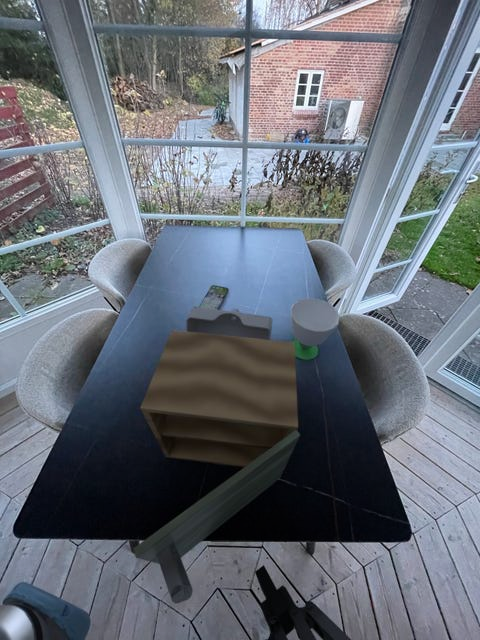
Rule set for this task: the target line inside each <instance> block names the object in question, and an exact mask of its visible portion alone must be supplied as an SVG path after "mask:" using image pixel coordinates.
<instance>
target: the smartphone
mask: <svg viewBox="0 0 480 640" xmlns="http://www.w3.org/2000/svg"><path fill="white" fill-rule="evenodd" d="M228 294H229V288H228V287H226V286H219V285H214V284H213V285H211V286H210V287H209V289H208V290H207V292H206V294H205V296H204V297H203V298H202V300H201V302H200V305H199V306H198V307H202V308H209V309H216V310H221V307H222V305H223V303H224V301H225V299H226V297H227V295H228Z"/></svg>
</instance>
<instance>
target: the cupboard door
mask: <svg viewBox="0 0 480 640" xmlns="http://www.w3.org/2000/svg"><path fill="white" fill-rule="evenodd" d="M300 437H301V434H300V433H299V431H298V429H297V430H295V431H294V432H292V433H291V434H290V435H288V436H287V437H285V438H284V439H283V440H281V441H280V442H279V443H277V444H276V445H274V446H273V447H272V448H270V449H269V450H268V451H266V452H265V453H264V454H262V455H261V456H259V457H258V458H257V459H255V460H254V461H253V462H251V463H250V464H248V465H247V466H246V467H242V469H240V470H239V471H237V472H236V473H234V474H233V475H232V476H231V477H229V478H228V479H226V481H224V482H222V483H221V484H219V485H218V486H217V487H215V488H214V489H213V490H212V491H210V492H208V493H207V494H206V495H205V496H204V497H201V498H200V499H199V500H197V502H195V503H193V504H192V505H191V506H190V507H188V508H187V509H185V510H184V511H183V512H181V513H180V514H178V515H177V516H176V517H175V518H173V519H171V520H170V521H169V522H168V523H167V524H165V525H163V526H162V527H161V528H159V529H158V530H157V531H155V532H154V533H153V534H151V535H150V536H148V537H147V538H146V539H144V540H143V541H141V542H140V543H139V544H137V545H136V546H135V547H133V553H134V556H135V558H136V559H139V560H143V561H147V562H150V563H154V564H158V565H159V567H160V570H161V573H162V576H163V579H164V582H165V585H166V589H167V591H168V594H169V596H170V600H171V602H172V603H173V604H175V605H176V604H180V603H183V602H186V601H188V600H189V599H191V597H192V595H193V587H192V584H191V582H190V581H191V580H190V579H189V576H188V573H187V570H186V567H185V565H184V563H183V560H182V558H183V557H184V556H185V555H187V554H188V553H189V552H190V551H192V550H193V549H194V548H195V547H196V546H198V545H199V544H200V543H202V542H203V541H204V540H205V539H206V538H208V537H209V536H210V535H211V534H213V533H214V532H215V531H216V530H218V529H219V528H221V526H222V525H224V524H225V523H226V522H227V521H229V520H230V519H231V518H233V517H234V516H235V515H236V514H237V513H238V512H240V511H241V510H242V509H243V508H245V507H246V506H247V505H249V504H250V503H251V502H252V501H253V500H255V499H256V498H257V497H259V496H260V495H261V494H262V493H264V491H266V490H267V489H269V488H270V487H271V486H272V485H274V484H275V483H276V482H278V480H280V479H281V478H282V476H283V473H284V471H285V468H286V467H287V464H288V463H289V460H290V458H291V456H292V455H293V451H294V450H295V448H296V445H297V443H298V442H299V439H300Z"/></svg>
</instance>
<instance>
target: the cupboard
mask: <svg viewBox="0 0 480 640" xmlns="http://www.w3.org/2000/svg"><path fill="white" fill-rule="evenodd" d="M297 387H298V386H297V369H296V356H295V343H294V342H292V341H282V340H272V339H270V340H264V339H254V338H244V337H234V336H224V335H214V334H204V333H194V332H186V331H184V330H175V329H174V330H173V329H171V331H170V334H169V336H168V338H167V341H166V343H165V345H164V348H163V351H162V353H161V356H160V357H159V361H158V363H157V365H156V368H155V371H154V373H153V375H152V378H151V380H150V383H149V385H148V388H147V390H146V393H145V396H144V398H143V400H142V402H141V405H140V410H141V412H142V414H143V416H144V418H145V420H146V422H147V424H148V426H149V428H150V430H151V432H152V434H153V436H154V438H155V439H156V441H157V443H158V445H159V447H160V449H161V451H162V453H163V455H164V456H165V458H169V459H177V460H183V461H191V462H199V463H206V464H214V465H221V466H222V465H223V466H231V467H237V468H244V467H246V466H247V465H248V464H250V463H251V462H253V461H254V460H255V459H257V458H258V457H259V456H261V455H262V454H264V453H265V452H266V451H268V450H269V449H270V448H272V447H273V446H274V445H276V444H277V443H279V442H280V441H281V440H283V439H284V438H285V437H287V436H288V435H290V434H291V433H292V432H294V431H295V430H297V431H298V428H299V414H298V390H297Z"/></svg>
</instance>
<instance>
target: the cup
mask: <svg viewBox="0 0 480 640" xmlns="http://www.w3.org/2000/svg"><path fill="white" fill-rule="evenodd" d="M340 319H341V317H340V314H339V311H338V310H337V309H336V308H335V306H333V305H332V304H331V303H330V302H327V301H325V300H323V299H318V298H315V297H313V298H312V297H305V298H302V299H298V300H297V301H296V302H294V303H293V304H292V306H291V308H290V321H291V322H290V324H291V328H290V329H291V333H292V336H293V337H294V338H295V339H294V340H292V341H291V342H294V343H295V358H297V359H300V360H302V361H311V360H313V359H315V358H316V357H317V356H318V354H319V348H318V346H319V345H323V344H324V343H325V342H326V341H327V340H328V338H329V337H330V335H332V333H333V332H334V331H335V329H336V328H337V327H338V326H339V325H340V321H341V320H340Z"/></svg>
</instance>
